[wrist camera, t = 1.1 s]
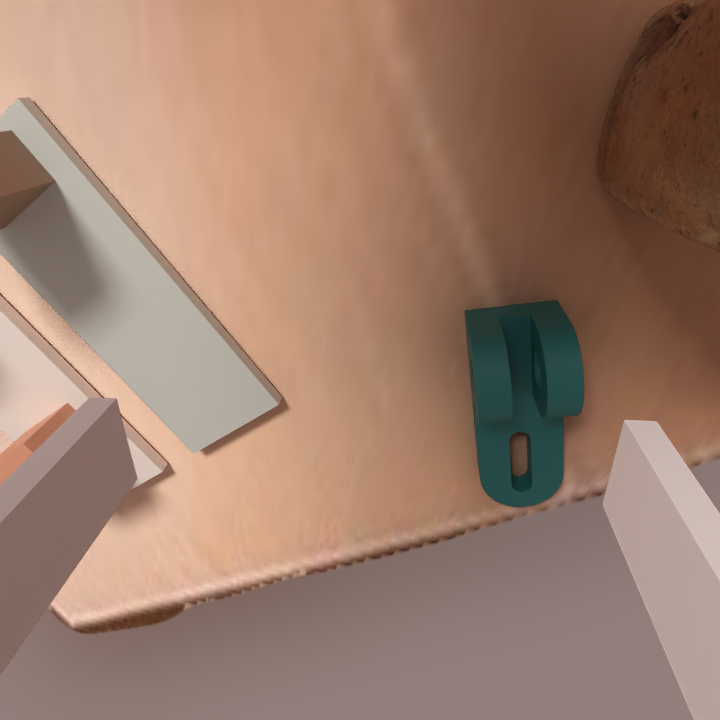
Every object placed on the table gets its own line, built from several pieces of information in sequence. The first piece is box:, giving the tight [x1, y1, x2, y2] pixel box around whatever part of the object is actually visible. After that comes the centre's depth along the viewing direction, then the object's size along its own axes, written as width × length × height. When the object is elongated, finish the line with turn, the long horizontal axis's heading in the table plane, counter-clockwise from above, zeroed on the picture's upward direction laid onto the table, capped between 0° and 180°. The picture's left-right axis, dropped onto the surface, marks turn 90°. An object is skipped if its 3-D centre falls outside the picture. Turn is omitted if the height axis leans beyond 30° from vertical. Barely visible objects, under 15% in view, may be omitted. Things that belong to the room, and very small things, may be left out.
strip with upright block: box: [0, 98, 282, 454], centre depth 38 cm, size 28×10×11 cm, turn 35°
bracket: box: [465, 300, 584, 507], centre depth 41 cm, size 18×7×8 cm, turn 10°
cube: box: [0, 403, 76, 485], centre depth 47 cm, size 6×6×6 cm
